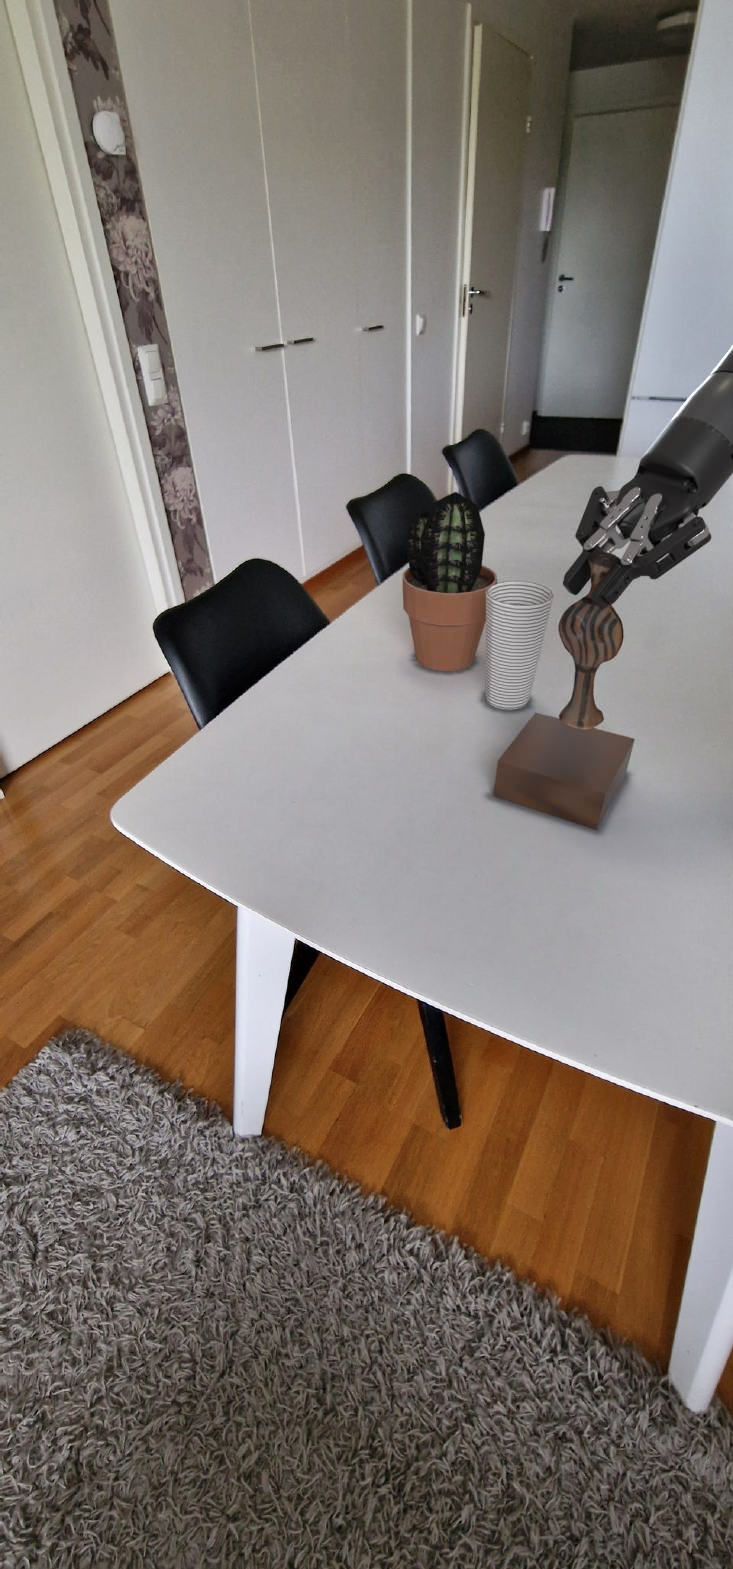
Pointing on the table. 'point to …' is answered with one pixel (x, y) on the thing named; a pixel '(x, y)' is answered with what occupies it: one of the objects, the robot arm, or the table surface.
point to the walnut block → (563, 770)
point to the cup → (514, 640)
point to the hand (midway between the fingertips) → (583, 595)
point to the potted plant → (446, 583)
